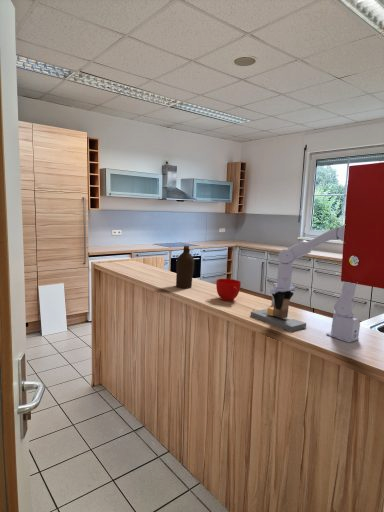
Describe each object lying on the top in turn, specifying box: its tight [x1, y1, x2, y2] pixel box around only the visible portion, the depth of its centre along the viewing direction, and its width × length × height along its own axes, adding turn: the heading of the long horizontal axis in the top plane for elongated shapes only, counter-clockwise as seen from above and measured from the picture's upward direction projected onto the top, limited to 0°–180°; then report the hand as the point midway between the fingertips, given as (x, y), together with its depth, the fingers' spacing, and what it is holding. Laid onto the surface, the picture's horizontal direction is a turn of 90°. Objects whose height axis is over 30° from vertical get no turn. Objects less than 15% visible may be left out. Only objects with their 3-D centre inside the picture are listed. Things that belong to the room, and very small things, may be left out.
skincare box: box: [271, 282, 277, 307], centre depth 168 cm, size 6×4×12 cm
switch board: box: [250, 308, 307, 332], centre depth 144 cm, size 22×10×2 cm, turn 37°
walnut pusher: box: [273, 298, 290, 318], centre depth 142 cm, size 5×4×8 cm
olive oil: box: [175, 245, 195, 289], centre depth 198 cm, size 11×11×25 cm
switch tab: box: [266, 306, 274, 316], centre depth 145 cm, size 3×4×3 cm
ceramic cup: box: [215, 278, 242, 302], centre depth 174 cm, size 13×17×10 cm
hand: (281, 308), depth 142 cm, fingers closed on walnut pusher, 3 cm apart
